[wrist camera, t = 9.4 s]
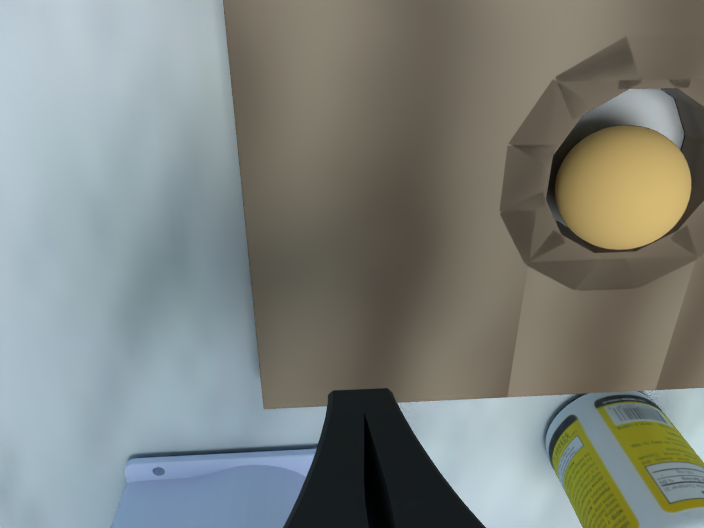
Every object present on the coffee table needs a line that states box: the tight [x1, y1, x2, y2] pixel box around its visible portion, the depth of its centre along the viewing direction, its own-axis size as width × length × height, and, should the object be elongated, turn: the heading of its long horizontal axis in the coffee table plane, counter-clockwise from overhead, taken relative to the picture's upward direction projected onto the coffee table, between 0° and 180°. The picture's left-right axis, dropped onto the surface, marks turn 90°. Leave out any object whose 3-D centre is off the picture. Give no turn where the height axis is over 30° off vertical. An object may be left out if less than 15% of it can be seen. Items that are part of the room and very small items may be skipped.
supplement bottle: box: [546, 391, 704, 528], centre depth 22 cm, size 5×5×10 cm
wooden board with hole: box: [223, 0, 704, 409], centre depth 19 cm, size 18×18×2 cm
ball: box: [555, 125, 691, 250], centre depth 19 cm, size 4×4×4 cm
